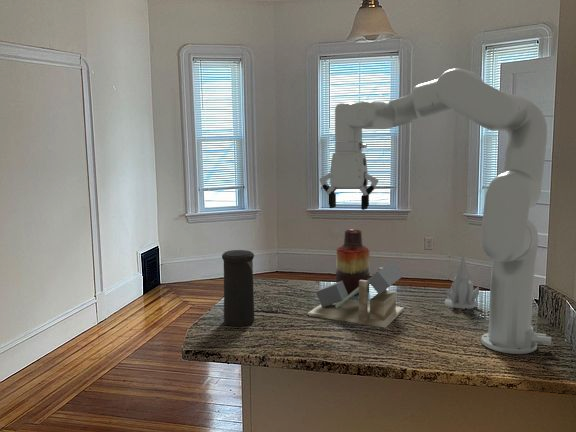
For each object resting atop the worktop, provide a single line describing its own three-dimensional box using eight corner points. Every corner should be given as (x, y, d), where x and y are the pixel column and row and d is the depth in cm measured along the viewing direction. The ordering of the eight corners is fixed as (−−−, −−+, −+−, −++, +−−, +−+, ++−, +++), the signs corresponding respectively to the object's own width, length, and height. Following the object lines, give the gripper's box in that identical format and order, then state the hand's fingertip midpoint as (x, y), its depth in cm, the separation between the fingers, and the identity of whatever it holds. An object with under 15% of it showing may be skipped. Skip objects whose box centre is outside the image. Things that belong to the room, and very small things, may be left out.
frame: (404, 309, 163) (404, 269, 161) (385, 328, 147) (385, 284, 146) (332, 299, 173) (332, 262, 172) (307, 315, 158) (307, 274, 156)
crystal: (474, 297, 175) (475, 251, 172) (481, 310, 162) (483, 260, 160) (441, 296, 176) (443, 250, 174) (446, 309, 163) (448, 259, 161)
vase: (371, 296, 177) (372, 233, 174) (337, 296, 177) (337, 233, 174) (366, 287, 187) (367, 228, 184) (334, 287, 187) (335, 228, 185)
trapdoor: (404, 274, 159) (392, 261, 161) (389, 286, 147) (377, 271, 148) (363, 306, 167) (353, 293, 168) (346, 320, 154) (335, 305, 155)
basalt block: (342, 280, 164) (322, 287, 167) (335, 284, 160) (315, 291, 163) (348, 296, 164) (328, 303, 167) (342, 300, 159) (322, 307, 163)
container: (261, 321, 154) (260, 250, 151) (237, 329, 147) (235, 255, 144) (240, 314, 159) (239, 246, 157) (216, 322, 153) (214, 251, 150)
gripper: (382, 147, 155) (381, 208, 157) (325, 147, 163) (325, 205, 165) (373, 148, 148) (373, 211, 151) (314, 148, 156) (315, 208, 159)
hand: (348, 208), depth 158 cm, fingers open, 9 cm apart
